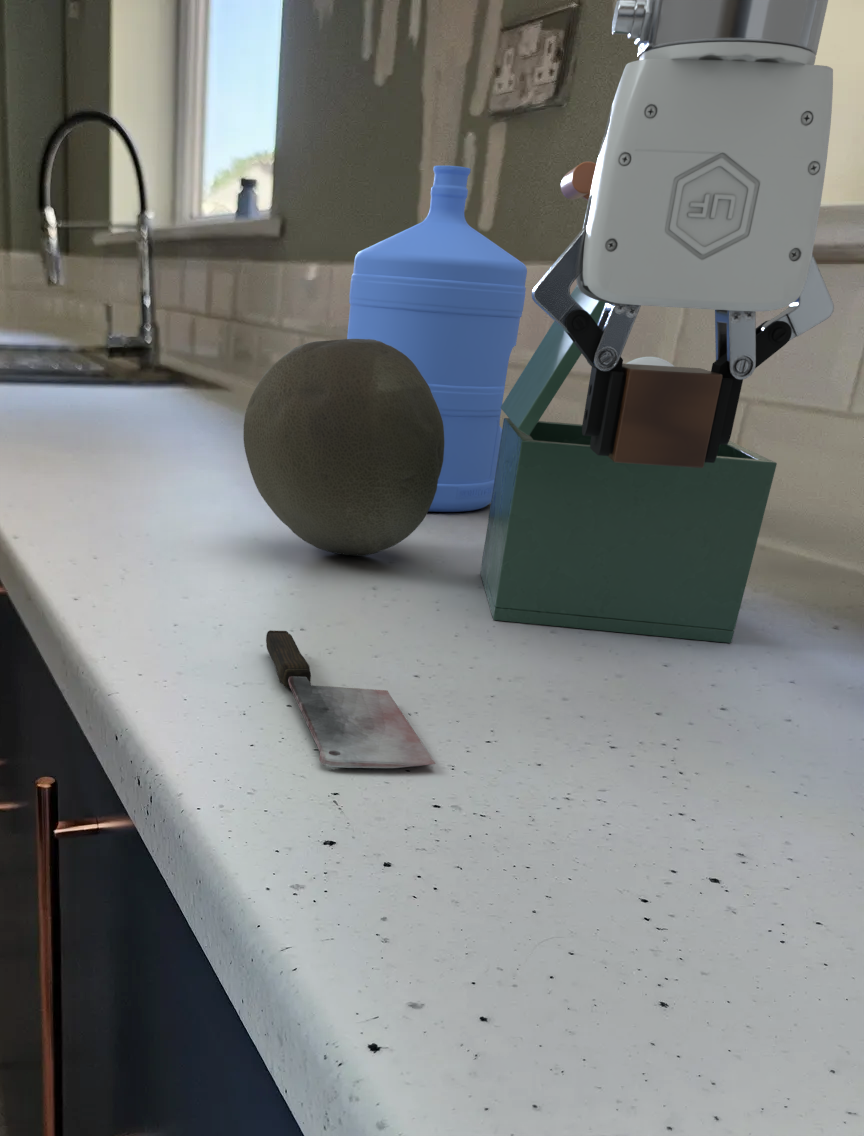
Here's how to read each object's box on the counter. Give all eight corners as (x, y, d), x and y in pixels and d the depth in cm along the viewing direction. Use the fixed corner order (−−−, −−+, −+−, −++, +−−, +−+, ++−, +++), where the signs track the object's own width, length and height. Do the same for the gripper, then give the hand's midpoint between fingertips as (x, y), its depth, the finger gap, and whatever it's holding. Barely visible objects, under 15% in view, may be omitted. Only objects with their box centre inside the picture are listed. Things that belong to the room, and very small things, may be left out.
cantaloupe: (345, 528, 93) (365, 332, 86) (469, 568, 83) (501, 350, 76) (203, 541, 85) (213, 326, 79) (320, 586, 75) (342, 344, 69)
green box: (684, 592, 81) (721, 436, 76) (731, 643, 69) (777, 462, 65) (480, 573, 82) (503, 417, 77) (493, 620, 70) (521, 440, 66)
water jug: (421, 520, 99) (468, 155, 87) (297, 488, 109) (324, 158, 97) (525, 506, 109) (580, 177, 97) (403, 479, 119) (439, 177, 107)
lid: (650, 190, 71) (578, 142, 70) (699, 171, 59) (613, 114, 58) (509, 414, 77) (442, 372, 76) (528, 436, 65) (450, 387, 65)
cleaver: (439, 754, 47) (322, 753, 46) (435, 777, 47) (319, 776, 47) (354, 629, 61) (263, 627, 60) (351, 648, 62) (261, 646, 61)
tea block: (683, 456, 60) (701, 368, 58) (703, 468, 56) (723, 374, 54) (599, 450, 60) (614, 363, 58) (613, 462, 56) (630, 368, 54)
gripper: (549, 9, 48) (491, 454, 55) (964, 24, 46) (844, 478, 54) (531, 42, 54) (481, 435, 62) (892, 56, 53) (795, 456, 61)
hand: (651, 451), depth 58 cm, fingers closed on tea block, 4 cm apart
